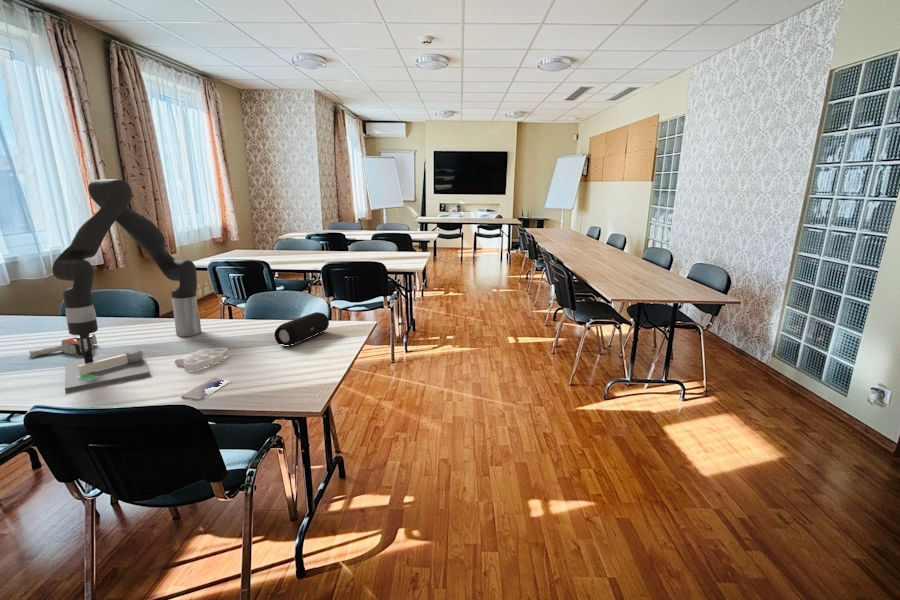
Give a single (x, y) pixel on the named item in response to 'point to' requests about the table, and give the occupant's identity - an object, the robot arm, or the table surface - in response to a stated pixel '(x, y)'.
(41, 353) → the tape dispenser
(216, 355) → the grey paint palette
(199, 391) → the smartphone
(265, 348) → the table surface
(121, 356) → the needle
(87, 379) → the dial plate
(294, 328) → the portable speaker
